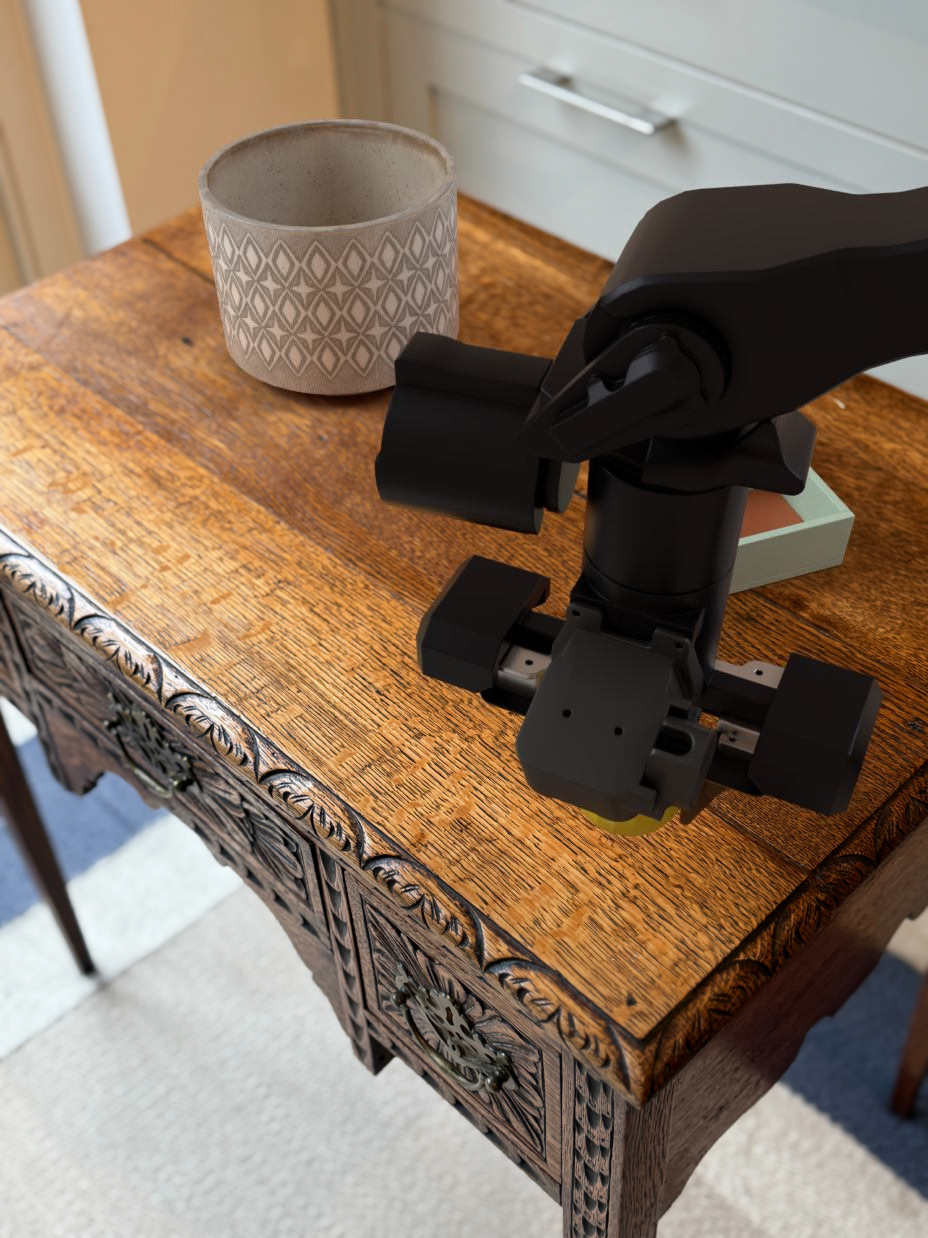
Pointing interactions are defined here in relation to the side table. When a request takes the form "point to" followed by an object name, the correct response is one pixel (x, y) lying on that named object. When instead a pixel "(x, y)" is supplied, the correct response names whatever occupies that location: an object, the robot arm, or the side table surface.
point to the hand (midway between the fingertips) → (625, 795)
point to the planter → (331, 250)
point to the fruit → (632, 823)
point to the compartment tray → (790, 534)
